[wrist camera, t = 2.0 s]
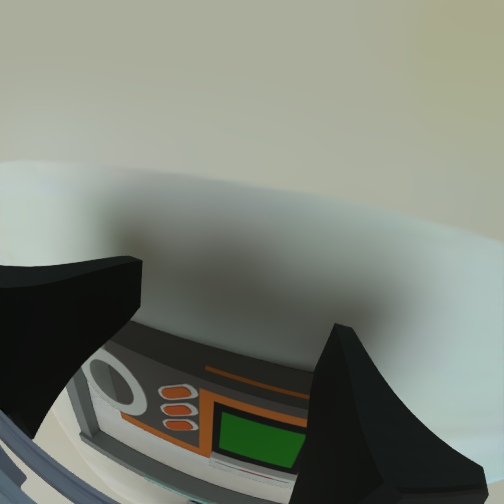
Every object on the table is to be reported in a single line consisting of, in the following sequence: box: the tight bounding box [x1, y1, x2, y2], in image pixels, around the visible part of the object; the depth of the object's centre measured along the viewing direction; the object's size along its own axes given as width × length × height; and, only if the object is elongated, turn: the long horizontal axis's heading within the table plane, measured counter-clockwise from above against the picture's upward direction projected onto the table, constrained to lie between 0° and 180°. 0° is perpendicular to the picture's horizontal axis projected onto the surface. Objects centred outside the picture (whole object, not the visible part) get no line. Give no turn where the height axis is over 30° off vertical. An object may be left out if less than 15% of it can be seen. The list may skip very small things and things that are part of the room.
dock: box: [66, 367, 279, 504], centre depth 16 cm, size 10×21×2 cm, turn 77°
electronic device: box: [81, 320, 314, 489], centre depth 13 cm, size 7×3×15 cm
